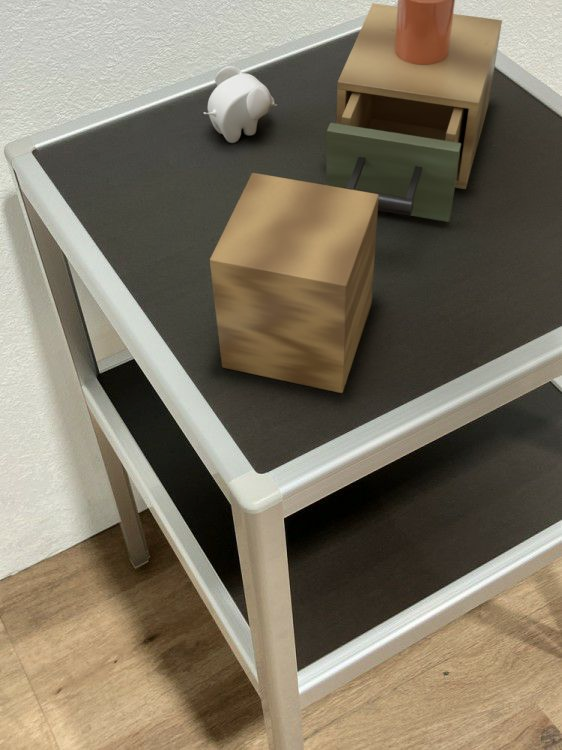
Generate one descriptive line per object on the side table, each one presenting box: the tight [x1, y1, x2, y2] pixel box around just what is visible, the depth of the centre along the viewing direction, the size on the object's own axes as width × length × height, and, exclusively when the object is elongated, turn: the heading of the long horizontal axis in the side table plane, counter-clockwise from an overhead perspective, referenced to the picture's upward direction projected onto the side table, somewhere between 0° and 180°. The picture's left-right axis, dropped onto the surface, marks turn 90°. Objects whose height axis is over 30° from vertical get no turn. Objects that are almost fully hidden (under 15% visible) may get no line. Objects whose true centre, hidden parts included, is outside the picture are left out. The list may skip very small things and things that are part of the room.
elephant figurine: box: [203, 65, 278, 144], centre depth 95 cm, size 7×8×6 cm
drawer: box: [325, 91, 469, 223], centre depth 87 cm, size 18×11×8 cm, turn 163°
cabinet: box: [336, 3, 503, 190], centre depth 92 cm, size 14×13×10 cm
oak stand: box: [209, 172, 379, 394], centre depth 75 cm, size 10×10×12 cm
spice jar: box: [394, 0, 456, 65], centre depth 86 cm, size 5×5×6 cm
